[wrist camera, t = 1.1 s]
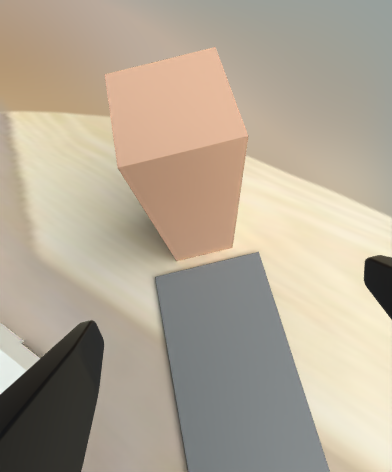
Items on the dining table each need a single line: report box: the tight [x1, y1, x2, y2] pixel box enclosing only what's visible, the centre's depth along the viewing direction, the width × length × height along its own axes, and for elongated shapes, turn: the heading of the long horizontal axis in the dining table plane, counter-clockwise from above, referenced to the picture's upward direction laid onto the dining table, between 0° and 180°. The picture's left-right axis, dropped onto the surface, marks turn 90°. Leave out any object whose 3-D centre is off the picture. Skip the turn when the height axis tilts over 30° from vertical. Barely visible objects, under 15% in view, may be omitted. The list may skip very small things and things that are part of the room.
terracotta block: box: [105, 47, 248, 261], centre depth 17 cm, size 5×5×14 cm
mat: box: [155, 252, 330, 472], centre depth 20 cm, size 16×9×1 cm, turn 13°
